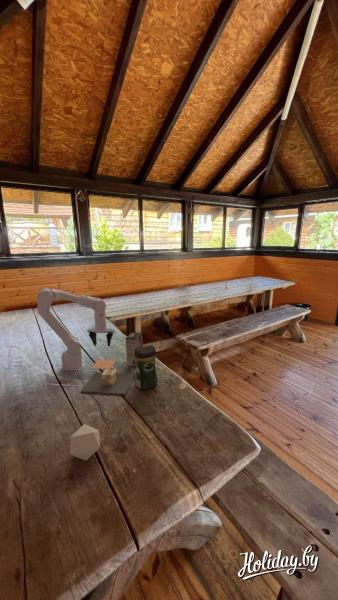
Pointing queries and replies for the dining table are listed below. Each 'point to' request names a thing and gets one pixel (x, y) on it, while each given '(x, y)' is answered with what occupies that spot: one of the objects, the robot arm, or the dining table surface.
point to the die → (84, 442)
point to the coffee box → (133, 346)
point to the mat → (116, 389)
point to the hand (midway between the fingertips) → (102, 345)
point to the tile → (103, 364)
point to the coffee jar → (145, 367)
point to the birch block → (109, 377)
